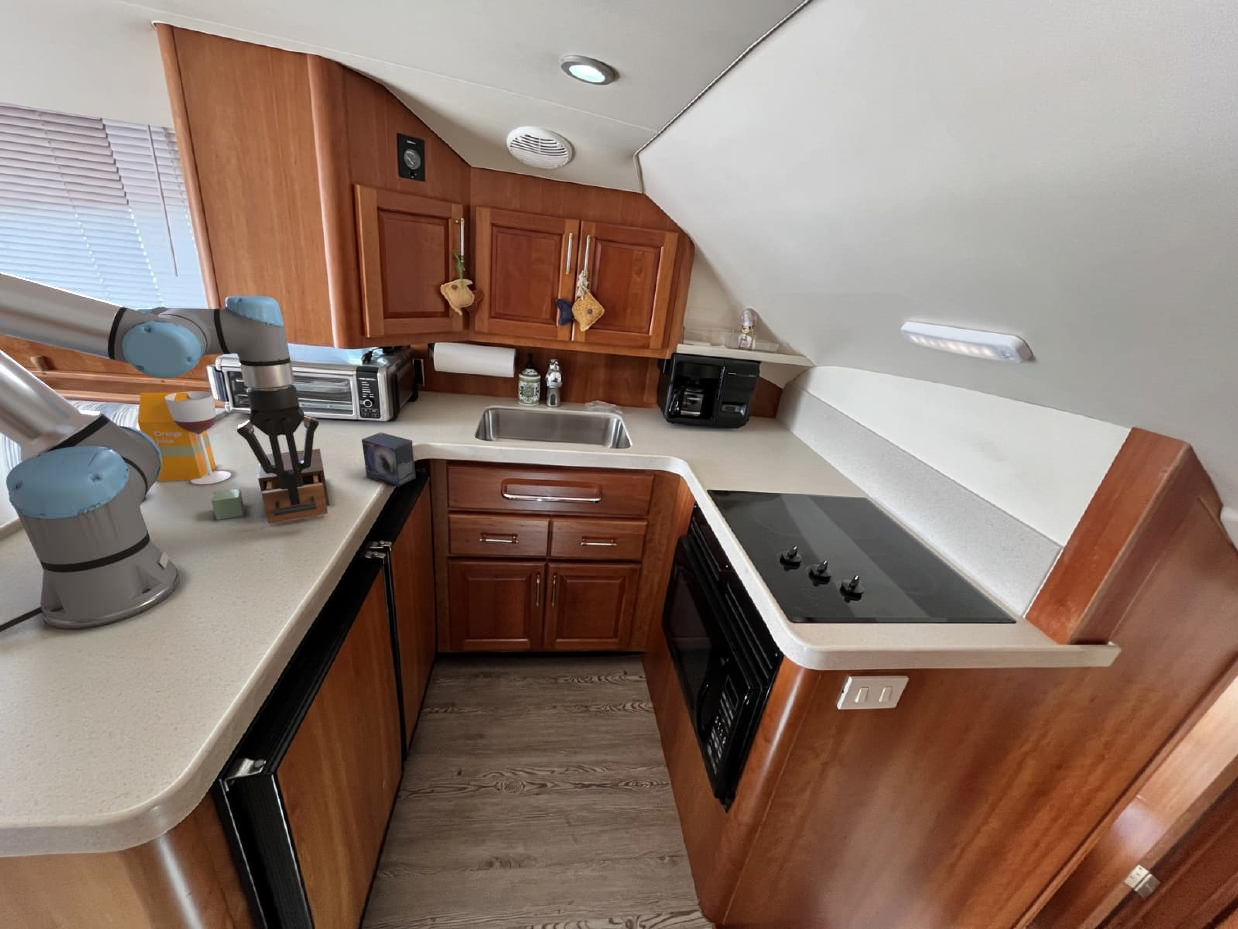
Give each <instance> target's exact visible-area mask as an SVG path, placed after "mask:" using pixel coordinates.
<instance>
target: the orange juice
mask: <svg viewBox="0 0 1238 929" xmlns="http://www.w3.org/2000/svg"><path fill="white" fill-rule="evenodd" d="M173 393H174V392H139V404H138V414H137V424H138V427H139V430H140V431H142V432H143V433H145V434H146V435H148V436H149V437H150V438H151V439H152V440H153V441H154V442H155V443H156V444H157V446H158V447H159V449H160V452H161V455H162V465H161V472H160V474H159V477H158V479H157V481H156V482H173V481H175V482H176V481H191V480H193V479H199V478H202V477H203V476H204V475H205V474H207V473H208V471H207V468H206V464H205V460H204V457H203V453H202V449H201V446H200V442H199V438H198V435H197V433H194V432H190V431H187V430H185V429H182V428H181V427H179V426H178V425H177V424H176V422H175V421H174V419H173V418H172V416H171V414H170V411H169V409H168V406H167V404H166V401H165V396H167V395H170V394H173ZM176 393H177V394H176V396H175V398H174V401H186V398H188V399H191V398H190V397H189V396H188V394H187V393H179V392H176ZM202 437H203V441H204V444H205V448H206V452H207V456H208V459H209V463H210V467H211V471H212V472H213V471H214V469H216V468H217V466H216V461H215V457H214V453H213V450H212V446H211V442H210V437H209V434H208V430H206V431H204V432H202Z"/></svg>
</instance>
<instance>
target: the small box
mask: <svg viewBox="0 0 1238 929" xmlns="http://www.w3.org/2000/svg"><path fill="white" fill-rule="evenodd" d="M361 444H362V446H361V447H362V452H363V453H362V454H363V459H364V460H363V461H364V466H365V473H366V478H368V479H373V480H374V481H375V480H376V481H379V482H382V483H385V484H389V485H392V486H395V487H400V486H403V485H405V484H406V483H409V482H411V481H412V480H414V479H415V480H416V478H417V476H416V467H415V459H414V458H415V457H414V448H413V440H412V439H408V438H404V437H400V436H396V435H392V434H388V433H385V432H382V431H380V432H378V433H375V434H372V435H370V436H367V437H364V438H361Z"/></svg>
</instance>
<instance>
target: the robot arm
mask: <svg viewBox="0 0 1238 929" xmlns="http://www.w3.org/2000/svg"><path fill="white" fill-rule="evenodd" d="M224 300H225V305H224V307H220V308H195V307H166V306H157V307H139V308H135V309H134V308H129V307H125V306H124V305H120V304H117V303H113V302H109V301H105V300H102V299H99V298H95V297H92V296H87V295H84V294H80V293H77V292H73V291H70V290H66V289H63V288H59V287H55V286H51V285H48V284H45V283H41V282H38V281H33V280H30V279H26V278H23V277H20V276H15V275H12V274H9V273H5V272H1V271H0V335H2V336H6V337H10V338H15V339H20V340H24V341H29V342H32V343H38V344H42V345H46V346H51V347H55V348H59V349H64V350H68V351H73V352H77V353H81V354H85V355H91V356H94V357H99V358H104V359H108V360H112V361H117V362H119V363H125V364H129V365H130V366H131V367H133V368H134V369H135V370H137V371H139V372H140V373H142V374H144V375H146V376H149V377H152V378H156V379H174V378H178V377H181V376H183V375H185V374H187V373H189V372H191V371H192V370H194V369H195V368H196V367H198V364H199V363H200V361H202V358H203V357H204V356H210V355H211V356H212V355H213V356H214V355H237V358H238V361H239V367H240V372H241V376H242V379H243V382H244V383H243V384H244V386H245V387H247V389H246V391H245V392H246V396H247V401H248V405H249V409H250V413H249V416H248V417H249V418H248V420H247V421H245V422H244V423H240V424H238V425H237V428H236V432H237V434H238V435H240V436H241V437H242V438H243V439H244V440H246V442H247V444H248V446H249V447H250V449H251V451H252V452H253V454H254V456H255V458H256V460H257V461H258V463H260V465H261V466H262V468H263V470H264V472H265V473H267V474H270V473H273V474H276V475H277V476H278V480H279V485H280V488H281V489H282V490H284V489H288V493H289V498H290V503H291V506H292V505H297V504H300V498H299V493H298V488H297V487H302V486H303V479H302V474H301V471H302V470H303V469H306V468H310V466H311V458H312V449H314V438H315V432H316V430H317V429H318V427H319V425H320V423H319V419H318V418H317V417H316V416H313V417H311V416H309V415H306V414H305V412H304V410H303V409H302V408H301V406H300V402H299V396H298V390H297V387H296V386H295V385H294V384H295V376H294V371H293V370H294V369H293V364H292V360H291V356H290V350H289V344H288V339H287V333H286V332H287V331H286V327H285V323H284V320H283V315H282V310H281V307H280V304H279V302H278V300H276V299H274V298H273V297H271V296H266V295H231V296H230V295H229V296H227V297H226V298H225V299H224ZM302 423H303V427H304V428H305V436H304V444H303V445H304V446H303V450H304V454H303V461H301V462H299V458H298V454H297V451H298V449H297V444H296V439H295V434H294V433H295V432H297V430H298V428H299V427H300V425H301V424H302ZM254 427H256V429H258V430H259V431H261V433H263V434H264V435H265V436H268V440H269V443H270V449H271V452H272V453H271V454H273V458H274V462H275V465H272V464H271V463H270V461H269V459H268V457H267V455H266V454H267V453H266V451H265V450H264V449H263V447H262V445H261V443H260V441H259V440H258V438H257V436H256V434H255V428H254ZM0 434H1V435H3V436H4V437H6V438H8V439H9V440H11V441H12V442H14V443H15V444H17V445H18V446H19V448H20V461H21V462H19V463H18V464H16V465H14V467H12V469H11V470H10V471H9V472H8V474H7V475H6V478H5V480H6V481H5V485H6V488H7V492H8V494H7V495H8V500H9V502H10V504H11V506H12V507H13V509H14V510H15V512H16V514H17V516H18V518H19V521H20V522H21V525H22V527H23V529H24V531H25V533H26V535H27V537H28V540H29V542H30V544H31V546H32V548H33V550H34V552H35V554H36V557H37V559H38V561H39V563H40V566H41V568H42V570H43V574H42V584H41V594H40V606H39V607H37V608H34V609H32V610H30V611H27V612H25V613H23V614H21V615H19V616H16V617H15V618H12V619H10V620H8V621H5V622H4V623H1V624H0V633H2V632H4V631H6V630H8V629H10V628H12V627H15V626H17V625H19V624H21V623H23V622H25V621H28V620H30V619H32V618H34V617H37V616H39V615H41V614H42V616H43V619H44V621H45V622H46V623H47V624H48V625H50V626H52V627H55V628H60V629H67V630H68V629H70V630H74V629H85V628H93V627H99V626H103V625H106V624H111V623H114V622H115V623H116V622H118V621H121V620H125V619H127V618H130V617H132V616H135V615H137V614H140V613H142V612H144V611H146V610H148V609H150V608H152V607H154V606H156V605H157V604H159V603H160V602H162V601H163V600H165V599H167V598H168V597H169V596H170V595H171V594H172V593H173V592H174V591H175V590H176V588H177V587H178V585H179V583H180V575H179V573H178V569H177V568H176V566H175V564H174V563H173V562H172V561H171V560H170V556H169V555H168V554H167V553H166V552H165V551H162V550H160V548H159V547H157V545H156V544H155V543H154V542H153V541H152V539H151V537H150V534H149V531H148V528H147V525H146V521H145V519H144V515H143V512H142V510H141V504H142V502H144V500H145V499H146V498H145V497H146V496H147V495H148V493H149V491H150V490H151V488H152V487H153V486H154V484H155V483H156V482H158V481H157V479H158V477H159V474H160V472H161V465H162V455H161V452H160V449H159V447H158V446H157V444H156V443H155V442H154V441H153V440H152V439H151V438H150V437H149V436H148V435H146V434H145V433H143V432H142V431H141V430H140V429H137V428H134V427H132V426H128V425H121V424H117V423H116V422H115V421H113V420H112V419H110V418H109V417H108V416H106V415H105V414H104V413H103V412H101V411H94V410H93V411H92V410H83V409H79V408H78V407H77V406H76V405H74V404H73V403H72V402H71V401H69V400H68V399H66V398H65V397H63V396H62V395H61V394H60V393H58V392H57V391H55V390H54V389H53V388H51V387H50V385H49V386H48V385H47V384H46V383H45V382H43V381H42V380H41V379H39V378H38V377H37V376H36V375H34V374H33V373H32V372H30V371H29V370H28V369H26V368H25V367H24V366H22V365H21V364H20V363H18V362H17V361H16V360H14V359H13V358H12V357H10V355H7V354H6V353H5V352H3V351H2V350H1V349H0ZM279 436H285V440H286V444H287V448H288V452H289V454H290V458H291V463H292V468H293V469H290V470H284V464H283V460H282V455H281V453H282V451H281V445H280V440H279ZM144 498H145V499H144ZM143 499H144V500H143ZM295 503H296V504H295Z"/></svg>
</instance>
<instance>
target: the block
mask: <svg viewBox="0 0 1238 929" xmlns="http://www.w3.org/2000/svg"><path fill="white" fill-rule="evenodd" d="M211 504H212V508H213V511H214V515H215V518H216V519H215V520H217V521H219V520H226V519H233V518H238V517H243V516H244V513H245V503H244V499H243V494H242V490H241V488H235V489H228V490H227V489H226V490H221V491H220V490H219V491H214V492H213V494H212V498H211Z"/></svg>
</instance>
